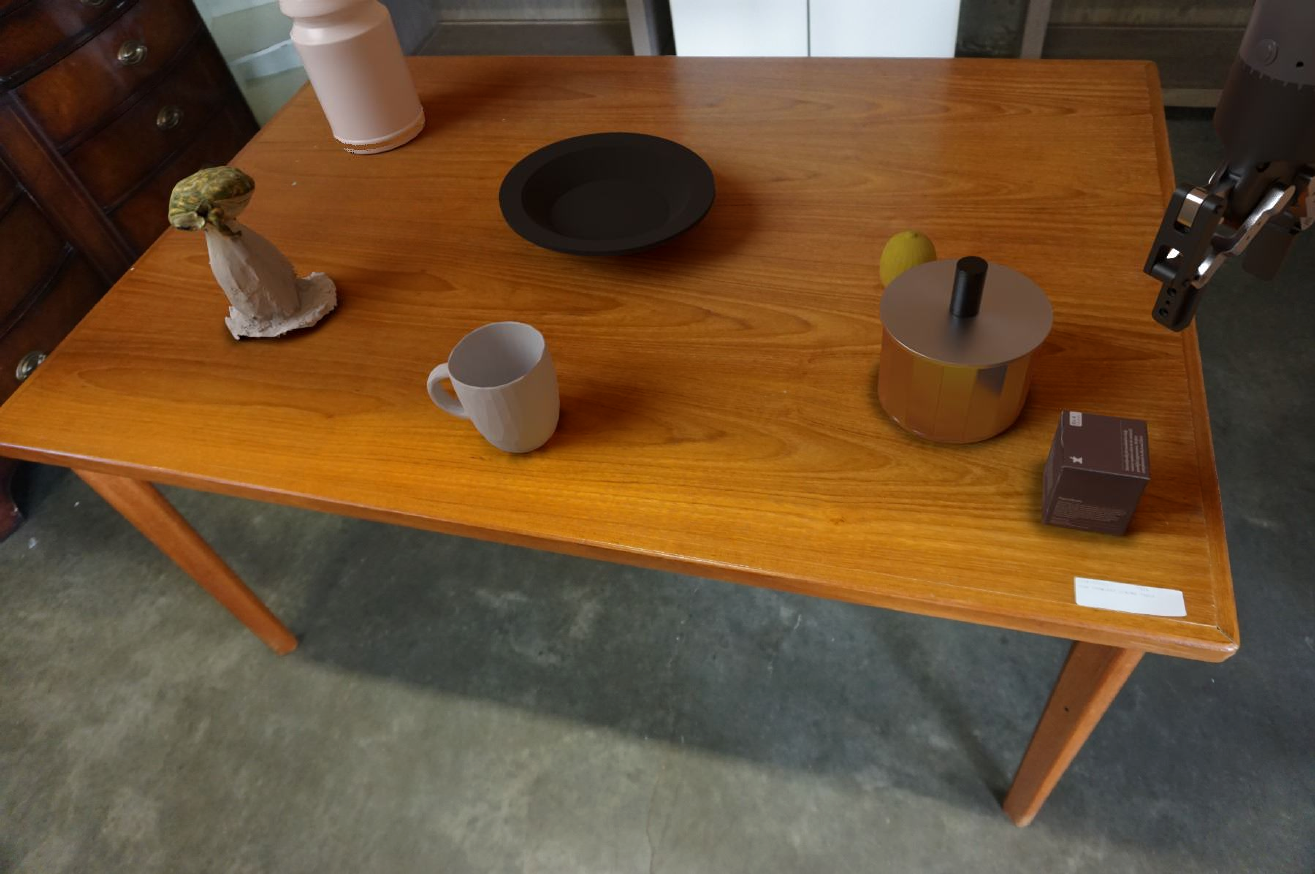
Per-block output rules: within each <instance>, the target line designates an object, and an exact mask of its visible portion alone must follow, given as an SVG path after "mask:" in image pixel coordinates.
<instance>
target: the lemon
mask: <svg viewBox="0 0 1315 874" xmlns="http://www.w3.org/2000/svg"><path fill="white" fill-rule="evenodd" d="M937 260H938V255H937V251H936V247H935V244H934V242H933V241H932V240H931V238H930V237H929V236H927V234H924V233H923V232H921V231H917V230H905V231H901V232H898V233H896V234H895V235H894V236H892V237H891V238H890V239H889V240H888V241H887V242H886V244H885V246H884V248H883V250H882V253H881V255H880V259H879V277H880V281H881V283H882V285H883V287H884V288H885V289H886V288H887V286H888V285H889V284H890V283H891V282H892V281H893V280H894V279H895V278H896V277H897V276H899V275H900V274H901V273H903V272H905V271H907V270H908V269H911V268H913V267H915V266H918V265H921V264H924V263H928V262H932V261H937Z"/></svg>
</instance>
